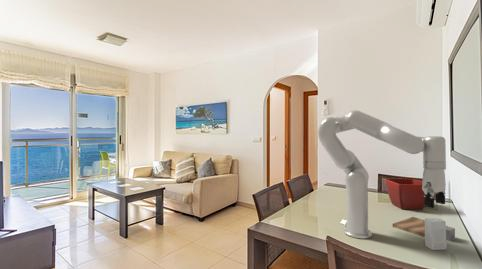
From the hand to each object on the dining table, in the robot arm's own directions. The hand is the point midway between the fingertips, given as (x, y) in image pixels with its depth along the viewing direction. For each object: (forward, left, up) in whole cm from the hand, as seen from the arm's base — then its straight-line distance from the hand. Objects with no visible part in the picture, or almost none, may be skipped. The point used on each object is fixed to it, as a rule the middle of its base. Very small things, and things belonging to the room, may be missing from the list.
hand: (435, 205), depth 102 cm
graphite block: (-2, +15, -18) cm, 24 cm away
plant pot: (-36, +50, -18) cm, 64 cm away
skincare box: (0, 0, -18) cm, 18 cm away
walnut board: (-14, +18, -18) cm, 29 cm away
